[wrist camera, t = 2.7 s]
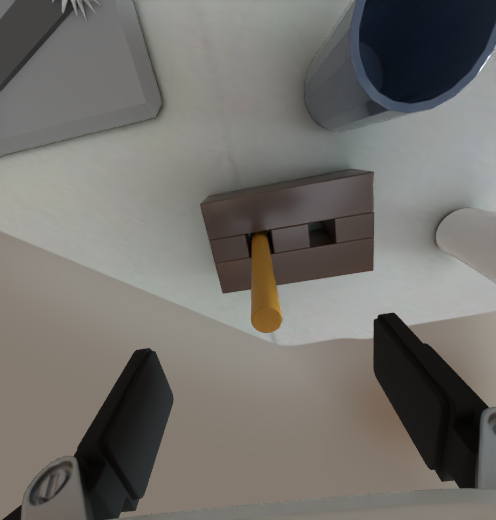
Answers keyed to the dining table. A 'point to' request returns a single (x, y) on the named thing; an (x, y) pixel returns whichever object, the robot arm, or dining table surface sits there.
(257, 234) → the orange rod
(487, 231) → the drinking glass
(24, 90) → the decorative plate
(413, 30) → the tumbler
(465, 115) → the dining table surface
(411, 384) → the robot arm
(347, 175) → the brown wooden block
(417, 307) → the dining table surface
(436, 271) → the dining table surface
